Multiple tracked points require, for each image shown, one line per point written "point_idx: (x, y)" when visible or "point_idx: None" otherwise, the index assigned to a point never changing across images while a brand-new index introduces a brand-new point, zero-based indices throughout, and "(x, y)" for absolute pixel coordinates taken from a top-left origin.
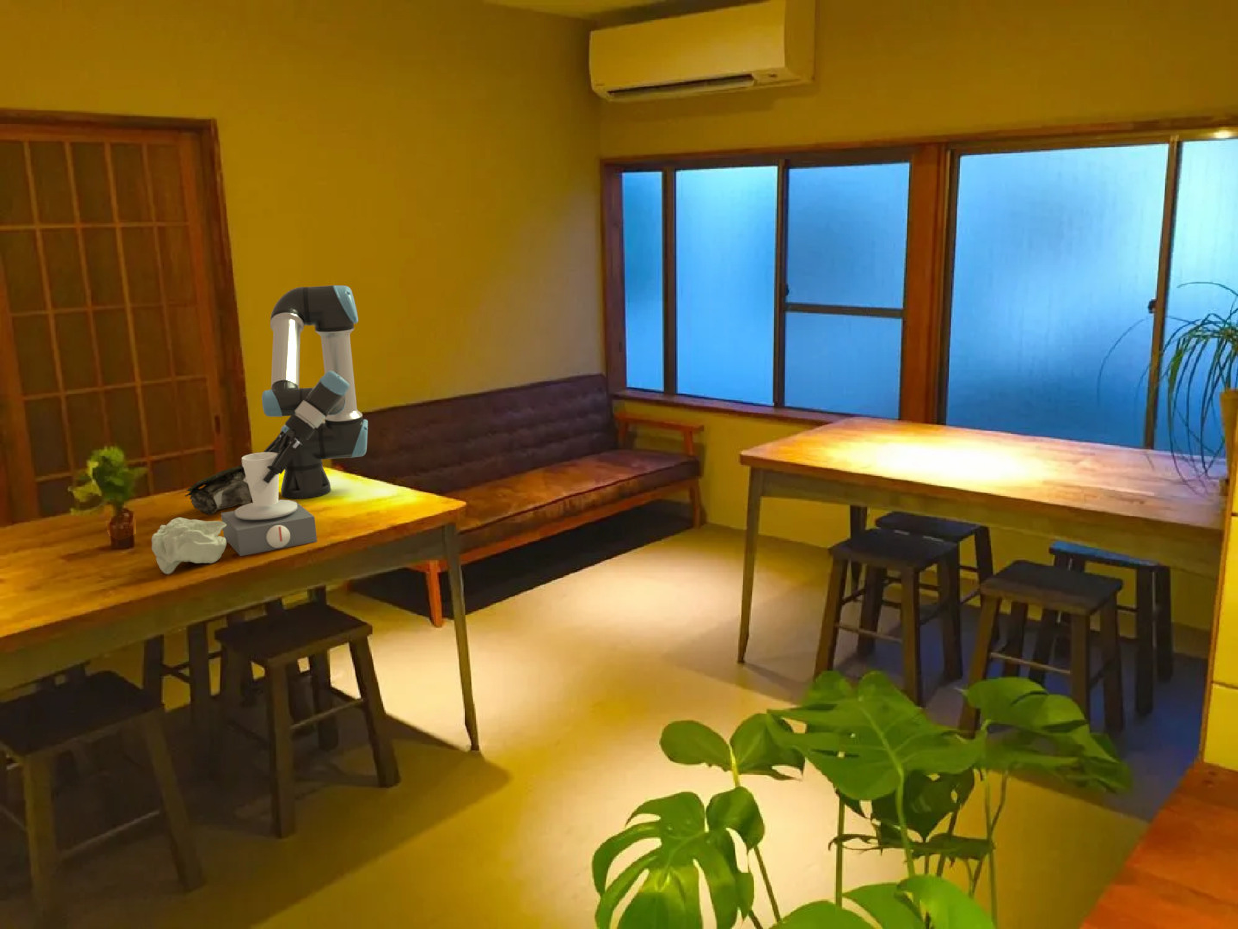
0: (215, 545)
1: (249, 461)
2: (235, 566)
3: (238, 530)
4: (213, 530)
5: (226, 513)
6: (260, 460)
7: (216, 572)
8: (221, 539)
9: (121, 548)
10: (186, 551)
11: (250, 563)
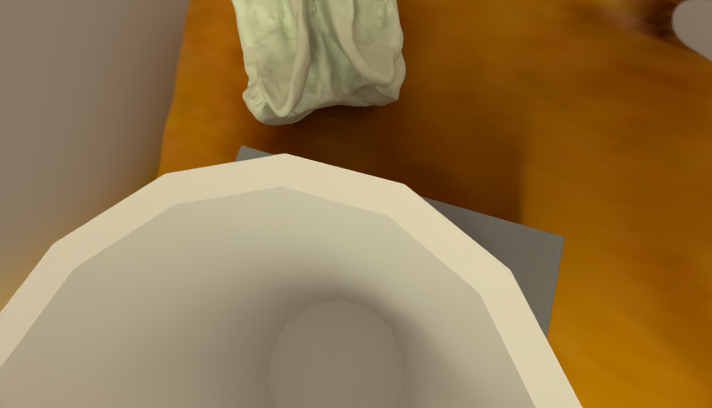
0: (248, 75)
1: (164, 183)
2: (197, 128)
3: (239, 151)
4: (290, 73)
5: (537, 249)
6: (20, 296)
7: (201, 74)
8: (255, 95)
9: (662, 9)
10: None
11: (180, 167)
